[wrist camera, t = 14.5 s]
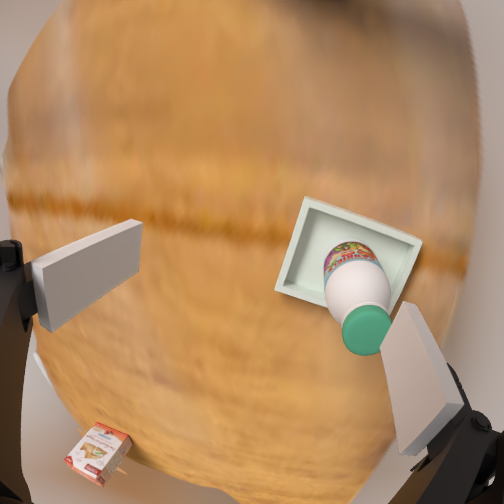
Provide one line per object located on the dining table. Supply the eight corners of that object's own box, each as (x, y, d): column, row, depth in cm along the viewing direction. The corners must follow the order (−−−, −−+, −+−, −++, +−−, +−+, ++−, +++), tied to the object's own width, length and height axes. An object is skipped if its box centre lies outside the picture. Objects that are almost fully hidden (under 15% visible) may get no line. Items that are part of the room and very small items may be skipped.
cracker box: (128, 433, 71) (95, 479, 51) (134, 444, 72) (104, 488, 53) (95, 420, 74) (62, 459, 54) (102, 431, 75) (71, 470, 56)
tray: (305, 195, 41) (304, 197, 38) (416, 236, 38) (423, 241, 36) (277, 282, 45) (274, 290, 42) (381, 316, 43) (384, 325, 40)
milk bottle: (382, 270, 40) (421, 346, 22) (338, 294, 43) (346, 382, 24) (359, 226, 40) (391, 278, 21) (313, 253, 42) (308, 322, 23)
